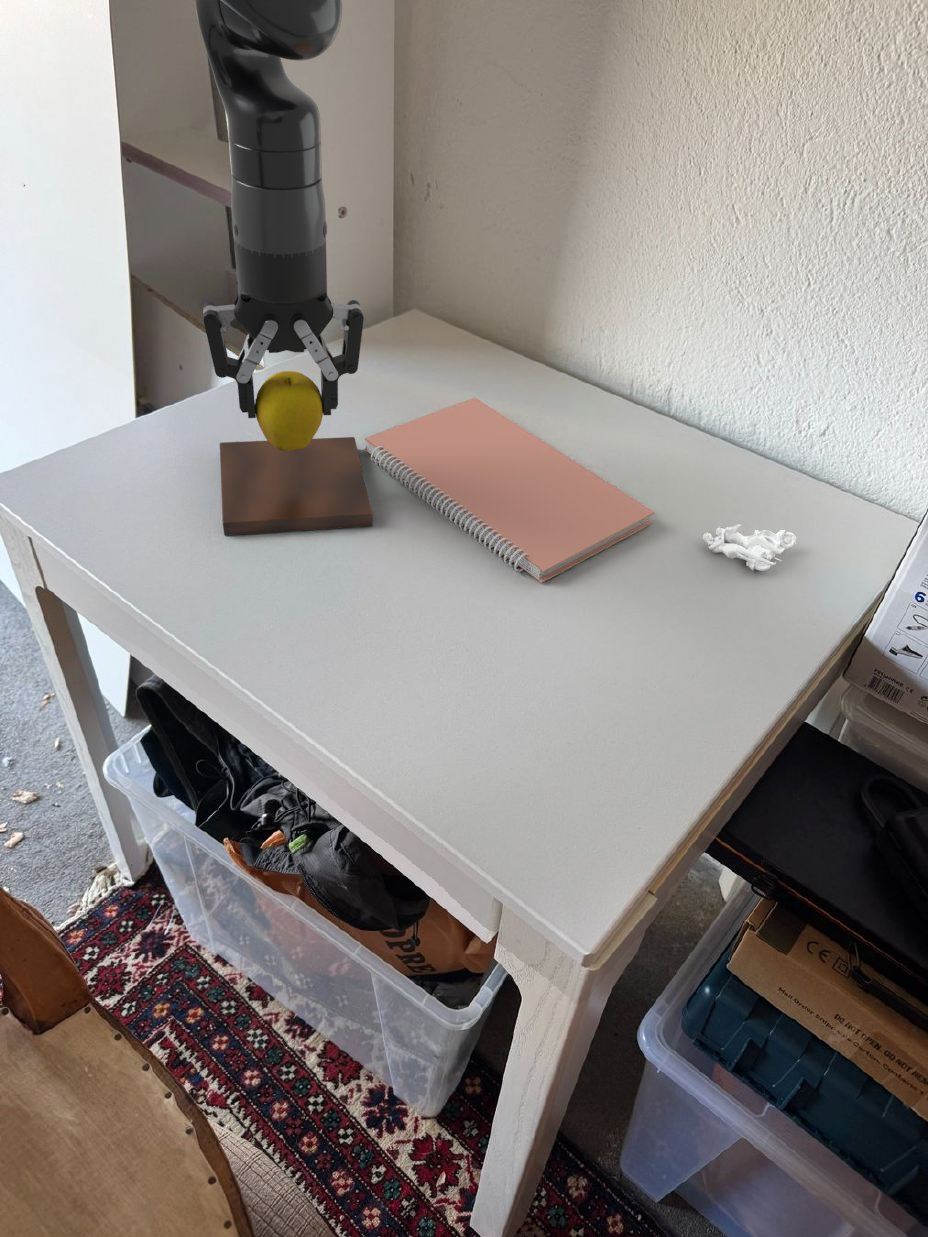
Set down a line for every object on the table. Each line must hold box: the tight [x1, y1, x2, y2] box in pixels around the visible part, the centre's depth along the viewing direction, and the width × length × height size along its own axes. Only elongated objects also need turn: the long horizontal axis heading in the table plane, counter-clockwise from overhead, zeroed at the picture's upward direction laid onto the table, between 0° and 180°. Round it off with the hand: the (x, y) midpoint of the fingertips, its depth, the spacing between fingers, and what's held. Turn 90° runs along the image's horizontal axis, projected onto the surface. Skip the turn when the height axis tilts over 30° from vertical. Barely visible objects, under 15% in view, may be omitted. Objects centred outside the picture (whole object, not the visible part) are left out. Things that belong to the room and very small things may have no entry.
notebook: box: [364, 396, 656, 584], centre depth 96 cm, size 27×17×2 cm, turn 41°
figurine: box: [702, 523, 797, 572], centre depth 91 cm, size 3×8×8 cm
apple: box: [254, 370, 324, 451], centre depth 87 cm, size 6×6×8 cm
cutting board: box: [219, 436, 374, 536], centre depth 93 cm, size 14×14×2 cm
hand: (289, 412), depth 87 cm, fingers closed on apple, 6 cm apart
